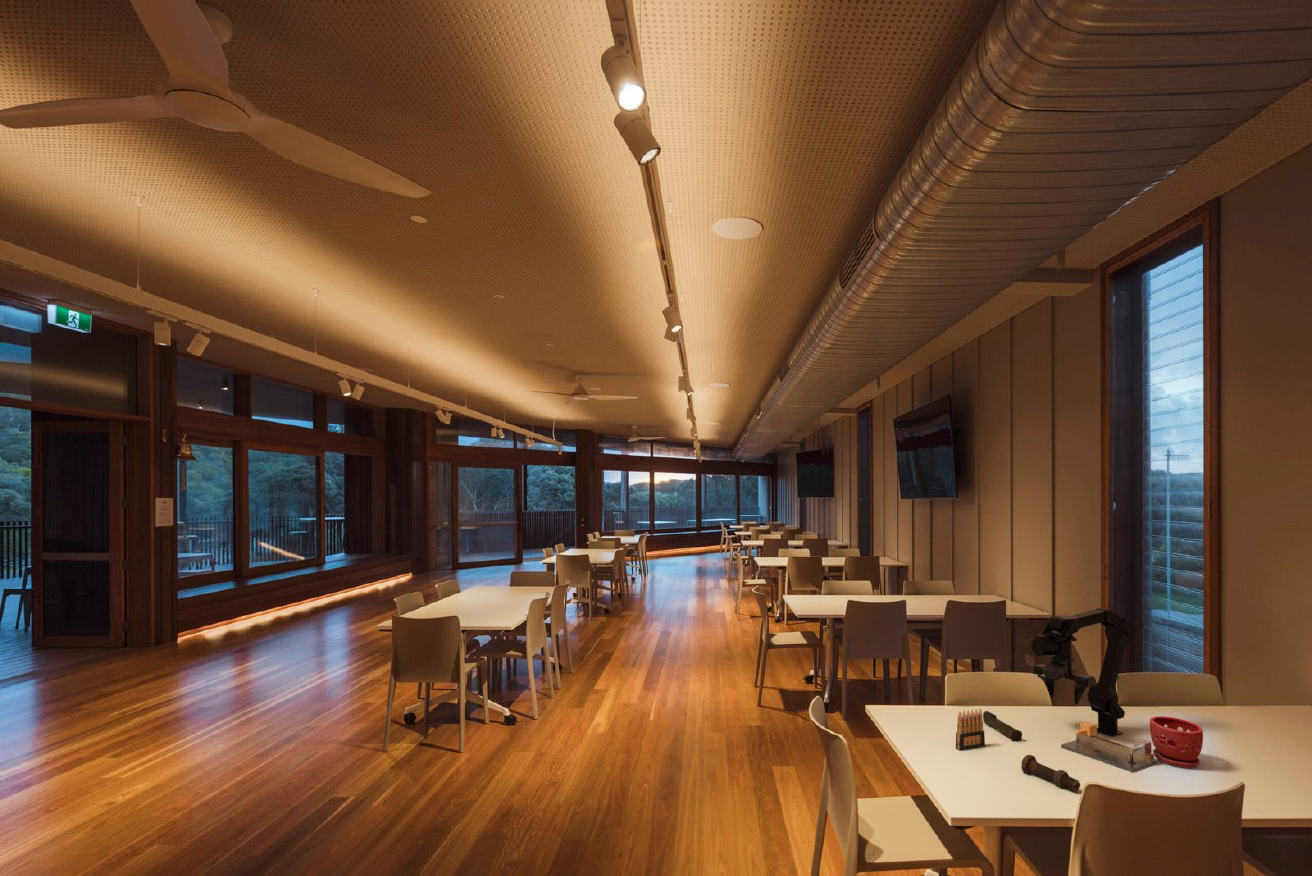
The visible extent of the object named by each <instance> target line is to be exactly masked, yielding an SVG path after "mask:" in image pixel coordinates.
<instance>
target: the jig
mask: <svg viewBox="0 0 1312 876" xmlns="http://www.w3.org/2000/svg"><path fill="white" fill-rule="evenodd" d="M1060 744H1061V743H1060ZM1060 749H1063V750H1066V751H1070V752H1073V753H1076V754H1079V755H1081V756H1083V757H1087V758H1089V757H1090V759H1092V760H1095V761H1098V762H1101V761H1102V762H1101V763H1104V764H1108V765H1110V766H1113V767H1116V768H1119V769H1122V770H1125V771H1127V772H1131V773H1135V772H1138V771H1140V770H1144V769H1146V768H1149V767H1151V766H1154V765H1156V764H1157V759H1155V756H1154V754H1153V750H1152V742H1151V741H1149V740H1145V739H1142V738H1139V739H1136V740H1133V747H1132V746H1129V745H1125V744H1122V743H1120V742H1116V741H1113V740H1110V739H1107V738H1105V737H1104V738H1103V737H1100V736H1097V735H1093V736H1087V735H1084V734H1081V735H1079V744H1077V743H1076V739H1075V740H1072V741H1068V742H1064V743H1062V744H1061V745H1060Z"/></svg>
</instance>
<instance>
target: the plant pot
mask: <svg viewBox="0 0 1312 876" xmlns="http://www.w3.org/2000/svg"><path fill="white" fill-rule="evenodd" d="M1166 726H1167V727H1166ZM1179 728H1181V729H1182V730H1179ZM1149 733H1150V737H1151V741H1152V742H1151V743H1152V745H1153V746H1154V748H1153V750H1152V754H1154V758H1157V759H1156V760H1159V761H1160V762H1162V763H1165V764H1167V765H1170V766H1174V767H1177V768H1186V769H1193V768H1196V767H1198V766H1199V765H1200V763H1201V761H1200V759H1199V756H1200V755H1201V752H1202V751H1203V745H1204V730H1203V728H1202V727H1201V726H1200V725H1199V724H1197V723H1194V722H1191V721H1189V720H1186V719H1181V718H1177V717H1173V716H1165V715H1164V716H1161V715H1158V716H1152V717H1150V719H1149Z"/></svg>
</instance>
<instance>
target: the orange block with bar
mask: <svg viewBox="0 0 1312 876" xmlns="http://www.w3.org/2000/svg"><path fill="white" fill-rule="evenodd" d="M1079 725H1080V727H1079V730H1076V731H1075V740H1076V743H1077V744H1079V735H1081V734H1084V735H1087V736H1093V735H1094V736H1097V735H1098V732H1097V728H1098V724H1095V723H1092V722H1090V721H1085V722H1080V724H1079Z"/></svg>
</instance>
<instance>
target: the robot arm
mask: <svg viewBox="0 0 1312 876" xmlns="http://www.w3.org/2000/svg"><path fill="white" fill-rule="evenodd" d="M1097 624H1100V625H1101V626H1102V627H1104V635H1105V638H1106V641H1107V645H1106V648H1105V653H1104V657H1103V661H1102V666H1101V669H1100V675H1099V678H1098V681H1097V679H1096V677H1095V676H1094V675H1090V674H1085V673H1081V674H1075V673H1076V670H1075V669H1074V668H1073V664H1074V663H1073V662H1075V657H1073V644H1072V643H1073V642H1077V641H1078V638H1076V637H1075V636H1074V635H1075V634H1077V633H1078V632H1079V630H1080V629H1082V628H1086V627H1090V626H1093V625H1094V626H1095V625H1097ZM1135 634H1136V627H1135V626H1134V624H1133V623H1132V622H1131V621H1128V620H1126V619H1125V618H1124V617H1121V616H1120V615H1118V614H1116V613H1115V612H1113V611H1112V610H1110V609H1108V608H1102V607H1097V608H1095V609H1093V610H1089V611H1084V612H1081V613H1077V614H1073V615H1052V616H1051V617H1049V620H1048V622H1047V624H1046V625H1045V628H1044V629H1043V630H1042V632H1041V635H1040V634H1036V635H1035V638H1034V639H1033V640H1032V641H1031V643H1030V646H1031V647H1030V648H1031V651H1032V652H1033V654H1034V655H1036V656H1038V657H1044V656H1045V657H1047V656H1050V659H1049V663H1047V664H1044V663H1039V664H1035V665H1032V668H1031V674H1033V675H1036V677H1037V678H1039V679H1040V680H1042V681H1043V683H1044V685H1045V687H1046V690H1047V692H1048V695H1049V697H1050V698H1054V695H1055V681H1059V680H1061V679H1062V678H1063V679H1066V680H1070V681H1074V684H1072V687H1073V689H1074V691H1073V693H1074V694H1073V695H1074V698H1073V699H1074V704H1075V705H1078V704H1079V703H1080V700H1081V698H1082V696H1083V695H1084V692H1085V691H1086V690H1087V688H1088V693H1087V694H1086V696H1087V702H1088V703H1089V706H1090V709H1091V711H1092V712H1095V713H1097V733H1101V734H1104V735H1107V736H1109V737H1117V736H1120V735H1122V734H1123V731H1119V728H1118V727H1119V723H1118V722H1119V721H1118V720H1121V719H1123V718H1125V715H1126V711H1125V710H1124V709H1123V707H1121V705H1120V704H1119V695H1118V693H1117V689H1116V685H1117V682H1118V678H1119V674H1120V669H1121V663H1122V660H1123V655H1124V651H1125V648H1126V647H1127V646H1128V645H1129V644H1130V643H1132V641H1133V639H1134V636H1135Z"/></svg>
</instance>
